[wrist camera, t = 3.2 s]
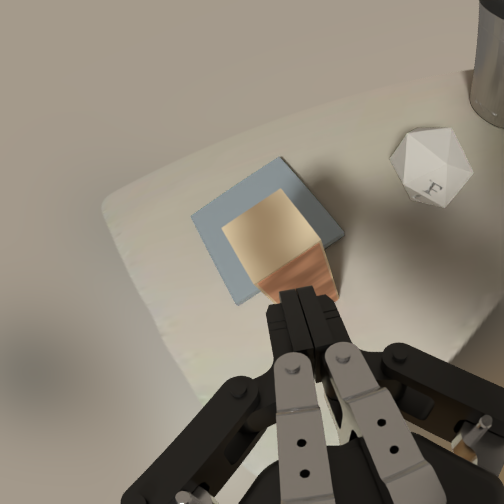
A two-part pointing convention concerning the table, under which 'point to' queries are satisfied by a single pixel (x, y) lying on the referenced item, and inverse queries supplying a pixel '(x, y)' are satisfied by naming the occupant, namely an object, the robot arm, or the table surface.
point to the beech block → (280, 249)
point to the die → (431, 165)
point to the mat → (241, 201)
